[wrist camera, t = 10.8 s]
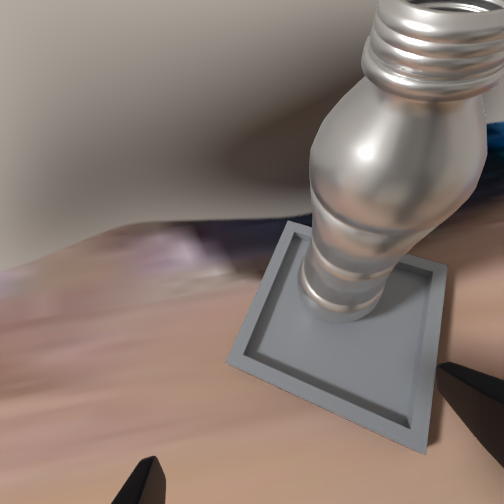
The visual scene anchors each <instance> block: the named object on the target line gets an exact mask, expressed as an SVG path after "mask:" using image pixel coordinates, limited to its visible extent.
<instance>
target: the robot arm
mask: <svg viewBox="0 0 504 504" xmlns="http://www.w3.org/2000/svg"><path fill="white" fill-rule="evenodd" d="M436 377H437V387H438V389H439V391H440V393H441V395H442V396H443V397H444V398H445V400H446V401H447V402H448V403H449V405H450V406H451V407H452V408H453V410H454V411H455V412H456V413H457V415H458V416H459V417H460V418H461V420H462V421H463V422H464V423H465V425H466V426H467V427H468V428H469V430H470V431H471V432H472V433H473V435H474V436H475V437H476V438H477V439H478V441H479V442H480V443H481V444H482V445H483V446H484V447H485V449H486V450H487V451H488V452H489V453H490V454H491V455H492V456H493V457H494V458H495V459H496V460H497V461H498V463H499V464H500V465H501V466H502V467H503V468H504V380H502V379H499V378H496V377H493V376H490V375H487V374H484V373H482V372H479V371H476V370H473V369H470V368H467V367H464V366H461V365H458V364H456V363H453V362H445V363H442V364H439V365H437V366H436ZM165 496H166V478H165V474H164V472H163V470H162V467H161V465H160V463H159V461H158V459H157V457H156V456H150V457H147V458H144V459H142V460H141V461H140V462H139V463H138V465H137V466H136V468H135V469H134V471H133V472H132V473H131V475H130V476H129V478H128V479H127V481H126V482H125V484H124V485H123V487H122V488H121V490H120V491H119V493H118V494H117V496H116V497H115V499H114V500H113V502H112V503H111V504H165Z"/></svg>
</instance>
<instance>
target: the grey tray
mask: <svg viewBox="0 0 504 504" xmlns="http://www.w3.org/2000/svg"><path fill="white" fill-rule="evenodd" d="M311 234H312V227H309V226H305V225H302V224H298V223H294V222H291V221H288V222H287V224H286V226H285V229H284V231H283V233H282V236H281V238H280V240H279V242H278V245H277V247H276V249H275V251H274V254H273V256H272V258H271V261H270V263H269V265H268V267H267V270H266V272H265V274H264V276H263V279H262V281H261V283H260V286H259V288H258V290H257V292H256V295H255V297H254V299H253V301H252V304H251V306H250V308H249V310H248V313H247V315H246V317H245V320H244V322H243V324H242V326H241V329H240V331H239V333H238V335H237V338H236V340H235V342H234V345H233V347H232V349H231V351H230V354H229V356H228V358H227V360H226V363H227V364H229V365H231V366H233V367H235V368H237V369H239V370H241V371H244V372H246V373H248V374H250V375H252V376H254V377H256V378H259V379H261V380H263V381H265V382H267V383H269V384H272V385H274V386H276V387H278V388H280V389H282V390H284V391H287V392H289V393H291V394H293V395H295V396H297V397H299V398H302V399H304V400H306V401H308V402H310V403H312V404H315V405H317V406H319V407H321V408H323V409H325V410H327V411H330V412H332V413H334V414H336V415H338V416H340V417H343V418H345V419H347V420H349V421H351V422H353V423H355V424H358V425H360V426H362V427H364V428H366V429H368V430H370V431H373V432H375V433H377V434H379V435H381V436H383V437H386V438H388V439H390V440H392V441H394V442H396V443H398V444H401V445H403V446H405V447H407V448H409V449H411V450H414V451H416V452H418V453H421V454H424V455H426V449H427V441H428V432H429V423H430V415H431V406H432V397H433V389H434V380H435V371H436V363H437V354H438V345H439V337H440V328H441V319H442V311H443V302H444V294H445V285H446V276H447V268H448V265H445V264H442V263H438V262H434V261H431V260H427V259H424V258H420V257H417V256H413V255H409V254H405V256H404V257H403V258H402V259H401V260H400V261H399V262H398V263H397V264H396V265H395V266H394V268H393V269H392V271H391V273H390V275H389V277H388V279H387V280H386V283H385V288H384V290H383V293H382V295H381V297H380V300H379V302H378V304H377V305H376V306H375V308H374V309H373V310H372V311H371V312H370V313H369V314H367V315H366V316H364V317H362V318H360V319H358V320H355V321H353V322H349V323H343V324H336V323H330V322H327V321H324V320H322V319H320V318H318V317H316V316H315V315H314V314H312V313H311V312H310V311H309V310H308V308H307V307H306V306H305V304H304V303H303V301H302V299H301V296H300V293H299V289H298V285H297V274H298V270H299V266H300V264H301V261H302V259H303V257H304V255H305V253H306V252H307V249H308V246H309V243H310V240H311Z"/></svg>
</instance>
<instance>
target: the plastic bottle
mask: <svg viewBox="0 0 504 504" xmlns="http://www.w3.org/2000/svg"><path fill="white" fill-rule="evenodd" d="M361 62H362V69H363V72H364V74H365V75H366V76H365V77H364V78H363V79H362V80H361V81H360V82H358V83H357V84H356V85H355V86H354V87H353V88H352V89H351V90H350V91H349V92H348V93H347V94H346V95H345V96H344V97H343V98H342V99H341V100H340V101H339V102H338V103H337V105H336V106H335V107H334V108H333V109H332V110H331V112H330V113H329V114H328V116H327V117H326V118H325V120H324V121H323V122H322V124H321V127H320V129H319V131H318V133H317V136H316V138H315V140H314V142H313V145H312V148H311V153H310V175H309V176H310V187H311V199H312V211H313V219H312V234H311V240H310V243H309V246H308V249H307V252H306V253H305V255H304V257H303V259H302V261H301V264H300V266H299V270H298V274H297V285H298V289H299V293H300V296H301V299H302V301H303V303H304V304H305V306H306V307H307V308H308V310H309V311H310V312H311V313H312V314H314V315H315V316H316V317H318V318H320V319H322V320H324V321H327V322H330V323H336V324H343V323H349V322H353V321H355V320H358V319H360V318H362V317H364V316H366V315H367V314H369V313H370V312H371V311H372V310H373V309H374V308H375V306H376V305H377V304H378V302H379V300H380V297H381V295H382V293H383V290H384V288H385V283H386V280H387V279H388V277H389V275H390V273H391V271H392V269H393V268H394V266H395V265H396V264H397V263H398V262H399V261H400V260H401V259H402V258H403V257H404V256H405V254H406V253H407V252H408V251H409V250H410V249H411V248H412V247H413V246H414V245H415V244H416V243H418V242H419V241H420V240H421V239H423V238H424V237H425V236H426V235H427V234H429V233H430V232H431V231H432V230H434V229H435V228H436V227H437V226H438V225H440V224H441V223H442V222H444V221H445V220H446V219H447V218H448V217H449V216H451V215H452V214H453V213H454V212H455V211H456V210H457V209H458V208H459V207H460V206H461V205H462V204H463V203H464V202H465V201H466V200H467V199H468V198H469V197H470V195H471V194H472V192H473V191H474V189H475V188H476V186H477V183H478V180H479V177H480V175H481V172H482V169H483V167H484V163H485V160H486V157H487V135H486V117H485V112H484V107H483V102H482V96H481V94H483V93H485V92H487V91H489V90H490V89H492V88H493V87H494V86H496V85H497V84H498V83H499V81H500V80H501V79H502V78H503V76H504V0H378V5H377V9H376V13H375V18H374V22H373V27H372V31H371V34H370V35H369V37H368V38H367V40H366V43H365V47H364V51H363V56H362V61H361Z"/></svg>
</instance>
